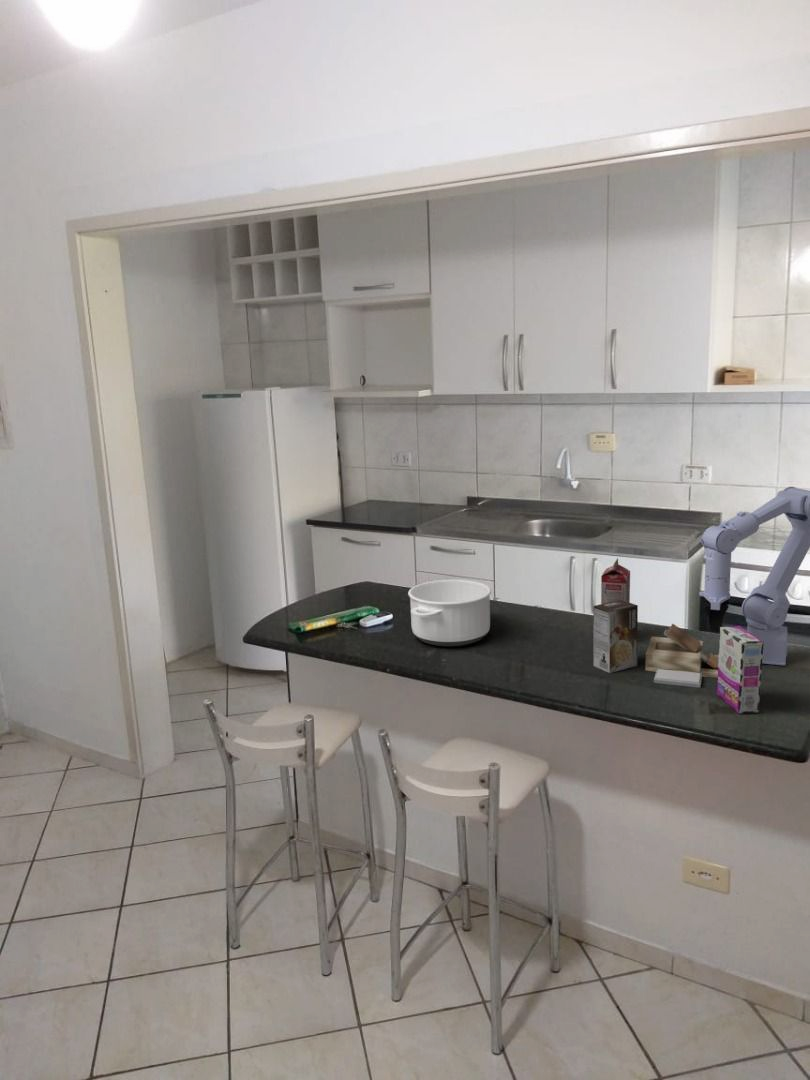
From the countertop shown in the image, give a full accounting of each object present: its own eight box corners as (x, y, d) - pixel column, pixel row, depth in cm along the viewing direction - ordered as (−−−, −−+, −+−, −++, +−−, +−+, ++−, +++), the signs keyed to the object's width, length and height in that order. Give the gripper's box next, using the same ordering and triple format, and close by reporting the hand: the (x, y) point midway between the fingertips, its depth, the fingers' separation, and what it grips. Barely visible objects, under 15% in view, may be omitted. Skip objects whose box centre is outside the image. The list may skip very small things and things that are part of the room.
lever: (715, 663, 211) (719, 658, 211) (714, 671, 206) (718, 666, 205) (664, 628, 214) (668, 624, 214) (662, 636, 209) (666, 631, 208)
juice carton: (600, 641, 230) (601, 563, 225) (604, 634, 236) (605, 557, 231) (625, 644, 227) (627, 565, 222) (628, 636, 233) (630, 558, 228)
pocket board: (720, 659, 214) (721, 642, 213) (718, 677, 202) (719, 660, 201) (651, 652, 220) (651, 636, 219) (645, 670, 209) (645, 653, 208)
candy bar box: (760, 713, 183) (765, 641, 179) (738, 714, 183) (742, 643, 179) (736, 692, 194) (740, 624, 190) (715, 694, 193) (718, 626, 190)
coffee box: (620, 658, 217) (621, 598, 214) (637, 666, 212) (639, 605, 208) (592, 666, 213) (592, 605, 210) (609, 674, 208) (610, 611, 204)
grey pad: (701, 677, 203) (702, 672, 203) (700, 687, 197) (700, 682, 197) (656, 672, 207) (656, 668, 207) (653, 682, 201) (653, 678, 201)
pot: (456, 662, 219) (455, 612, 216) (383, 648, 232) (381, 600, 229) (514, 625, 246) (514, 580, 243) (446, 614, 259) (445, 571, 256)
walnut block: (695, 648, 211) (700, 642, 211) (694, 653, 208) (699, 647, 207) (668, 629, 213) (672, 623, 212) (666, 634, 209) (671, 628, 208)
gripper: (701, 567, 212) (699, 619, 215) (698, 582, 199) (696, 637, 202) (731, 569, 209) (729, 621, 212) (730, 584, 196) (727, 640, 199)
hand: (715, 629), depth 207 cm, fingers closed
